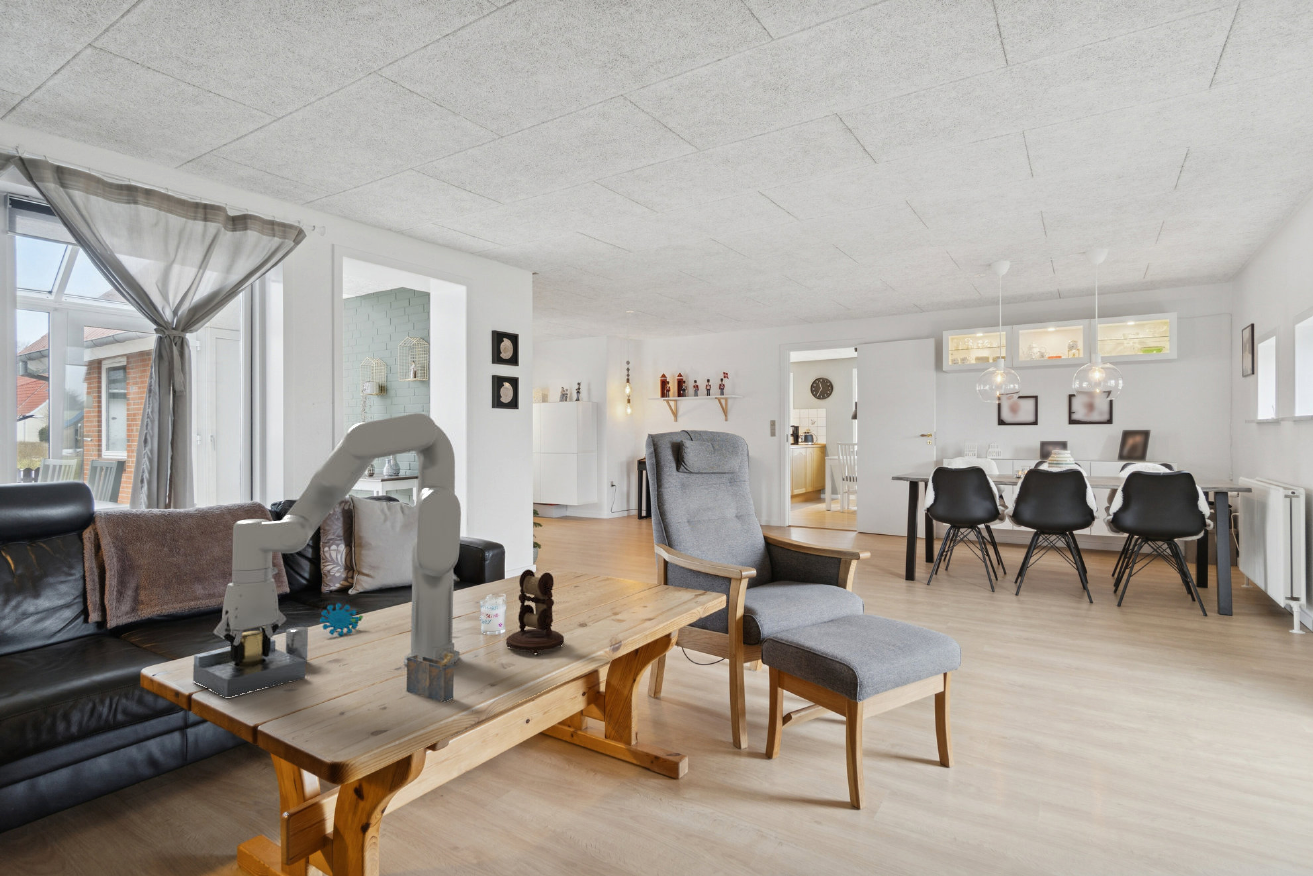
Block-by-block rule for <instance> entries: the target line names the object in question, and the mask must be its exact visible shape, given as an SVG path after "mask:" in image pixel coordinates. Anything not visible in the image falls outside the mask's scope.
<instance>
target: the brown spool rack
mask: <svg viewBox="0 0 1313 876" xmlns="http://www.w3.org/2000/svg"><path fill="white" fill-rule="evenodd" d="M518 582H519V584H518V585H519V587H520V589H519V592H520V594H519V595H518V600H519V603H520V607H519V611H518V617H517V618H518V623H519V626H518V627H519V631H515V632H513V633H512V634H510V635H508V636H507V637H506V640H505V641H506V643H505V645H506V646H507V647H510V649H513V650H517V651H526V652H533V653H532V654H534V653H537V654H538V652H539V651H549V650H552V649H553V650H554V649H556V648H559V647H560V646H561V645H562V644H563V645H564V643H565V636H564V635H563V634H562V633H559V631H556V630H553V629H552V627H553V625H552V624H553V622H554V617H553V606H554V604H555V600H554V599H553V590H554V588H553V587H554V586H555V585H554V584H555V582H554V577H553V575H552V573H550V572H543V573H542V574H541V575H540V576H539V577H538V576H536V575H535V572H534V570H532V569H525V570H524V571H522V573H521V574H520V577H519V581H518ZM526 602H531V603H533V604H534V607H535V610H534V607H533V606H532V604H525V603H526ZM526 627H529V628H527V629H526Z"/></svg>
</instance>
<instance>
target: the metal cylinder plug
mask: <svg viewBox="0 0 1313 876" xmlns="http://www.w3.org/2000/svg"><path fill="white" fill-rule="evenodd" d="M308 635H309V628H308V627H307V626H306V627H304V626H299V627H297V626H296V627H291V628H287V629H286V630H285V653H288V654H290V655H293V656H296V657H298V658H301V659H304V660H305V665H307V663H308V647H309V646H308V643H309V639H308V638H309V637H308Z"/></svg>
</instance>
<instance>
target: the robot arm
mask: <svg viewBox="0 0 1313 876" xmlns="http://www.w3.org/2000/svg"><path fill="white" fill-rule="evenodd" d="M454 451H455V450H454V448H453V445H452V442H451V440H450V439H449V437H448V435H447V434H446V433H445V432H444V430H443V429H442V428H441V427H440V426H439V425H437V424H436V422H435V420H433V419H432V418H431V417H430V416H429V415H427V414H424V413H421V412H419V413H418V412H416V413H414V412H413V413H409V414H405V415H398V416H395V417H394V416H393V417H388V418H383V419H377V420H370V421H362V422H359V423H356V424H353V425H352V426H351V427H350V428H349V429H348V431H347V432H346V433H345V435H344V436H343V437H342V439H341V440H340V441H339V442H338V443H337V445H336V446H335V448H334V449H333V450H332V451H331V452H330V454H329V455H328V456H327V457H326V459H325V460H324V461H323V463H322V464H321V465H320V466H319V468H318V469H316V471H315V473H314V474H313V476H312V477H311V479H310V481H309V484H308V485H307V486H306V488H305V490H304V491H303V492H302V494H301V495H300V496H299V498H298V499H297V500H296V502H295V503H294V504H293V505H292V506H291V508H290V509H289V510H288V511H287V513H286V514H285V515H284V516H283V517H282V519H281V520H276V521H270V520H268V519H263V518H255V519H254V518H249V519H242V520H238V521H236V522H235V523H234V525H233V529H232V566H231V567H232V569H231V570H232V572H231V573H232V574H231V575H232V576H231V577H232V579H231V582H230V583H228V584H227V586H226V590H225V595H224V599H223V606H222V613H221V614H222V616H221V617H222V618H221V620H220V622H219V623H218V625H217V626H216V628H215V629H214V630H213V633H214V634H215V635H216V636H219V637H221V638H222V639H223V640H225V641H227V642H228V643H229V644H230V647H231V654H230V657H231V659H232V661H234V662H236V663H241V662H242V648H243V646H242V644H240V640H241V637H242V634H243V633H244V631H247V630H252V629H257V628H259V629H260V630H259V631H262V632H263V656H265V657H267V656H269V651H270V644H271V639H273V638H274V637H273V636H274V634H275V633H276V632H277V631H278V629H279V627H280V626H282V624H284V623H285V622H286V621H287V617H286V616H285V615H284V614H283V613H282V612H281V611H280V609H279V600H278V591H277V590H278V589H277V585H276V583H275V579H273V576H274V574H277V573H279V572H278V568H277V567H274V566H273V553H280V554H294V553H297V552H300V551H302V550H303V549H304V548H305V547H307V544H308V543H309V541H310V539H311V538H312V536H313V535H314V533H316V531H317V529H318V528H319V527H320V526H321V524H322V523H323V522H324V520H325V519H326V518H327V517H328V515H330V513H331V511H332V510H333V509H334V508H335V507H336V506H337V505H338V504H339V503H340V502H341V501H343V500H344V499H345V498H346V497H347V496H348V495H349V493H350V492H351V491H352V490H353V488H354V487H355V485H356V484H358V482H359V480H361V478H362V477H363V475H365V473H366V472H367V470H368V469H369V467H370V466H371V465H372V464H373V462H374V461H375V460H376V459H380V458H386V457H391V456H396V455H402V454H406V453H411V452H414V453H415V455H416V457H417V461H418V462H417V463H418V468H417V469H418V472H417V473H418V479H417V481H418V482H417V494H416V501H415V502H416V503H415V511H416V515H417V530H416V538H415V540H414V542H413V544H412V550H411V570H412V571H411V572H412V573H411V575H412V576H411V580H412V581H411V582H412V583H411V585H412V586H411V624H410V625H411V626H410V627H411V629H410V653H408V654H406V655H405V656H404V657H403V664H404V665H405V666H406V667H407V657H410V656H413V655H416V654H418V660H422V661H423V656H425V657H429V658H433V659H437V660H441V661H444V654H446V653H447V652H448V654H452V655H453V654H454V653H455V655H453V658H452V659H451V660H450V661H449V662H448V663H447V664H446V666H447V665H450V664H455V663H456V662H457V661H458V660H459V657H460V651H459V650H456V649H455V642H453V629H454V628H453V621H454V620H453V619H454V618H453V617H454V615H453V614H454V568H455V566H456V565H457V563H458V562H459V561H458V560H459V554H460V546H461V545H460V544H461V541H460V540H461V524H462V523H461V520H462V511H461V509H462V508H461V507H462V506H461V503H460V500H459V498H458V496H457V495H456V493H455V492H456V491H455V487H456V485H455V483H456V482H455V481H456V470H455V469H456V461H455V460H456V459H455V452H454ZM226 629H230V633H229V632H228V631H226Z"/></svg>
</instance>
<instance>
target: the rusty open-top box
mask: <svg viewBox="0 0 1313 876" xmlns="http://www.w3.org/2000/svg"><path fill="white" fill-rule="evenodd" d="M453 655H455V653H454V654H453ZM453 655H452V654H448V652H447V653H446V654H444V661H441V660H437V659H433V658H429V657H425V656H423V661H422V660H418V654H416V655H413V656H410V657H407V666H406V692H407V691H408V692H407V693H411V694H413V693H414V694H413V695H417V696H420V695H422V696H421V697H423V696H424V698H427V697H428V698H427V699H430V698H431V699H430V700H433V699H435V700H434V701H436V700H438V701H437V702H440V701H442V702H441V703H443V702H444V701H446V702H448V701H447V700H449V699H451V698H453V699H454V681H455V680H454V679H455V677H454V675H455V674H454V673H455V669H454V668H455V663H453V664H450V665H447V666H446V664H447V663H448V662H449V661H450V660H451V659H452V658H453ZM451 700H452V699H451ZM449 701H450V700H449ZM444 703H445V702H444Z"/></svg>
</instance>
